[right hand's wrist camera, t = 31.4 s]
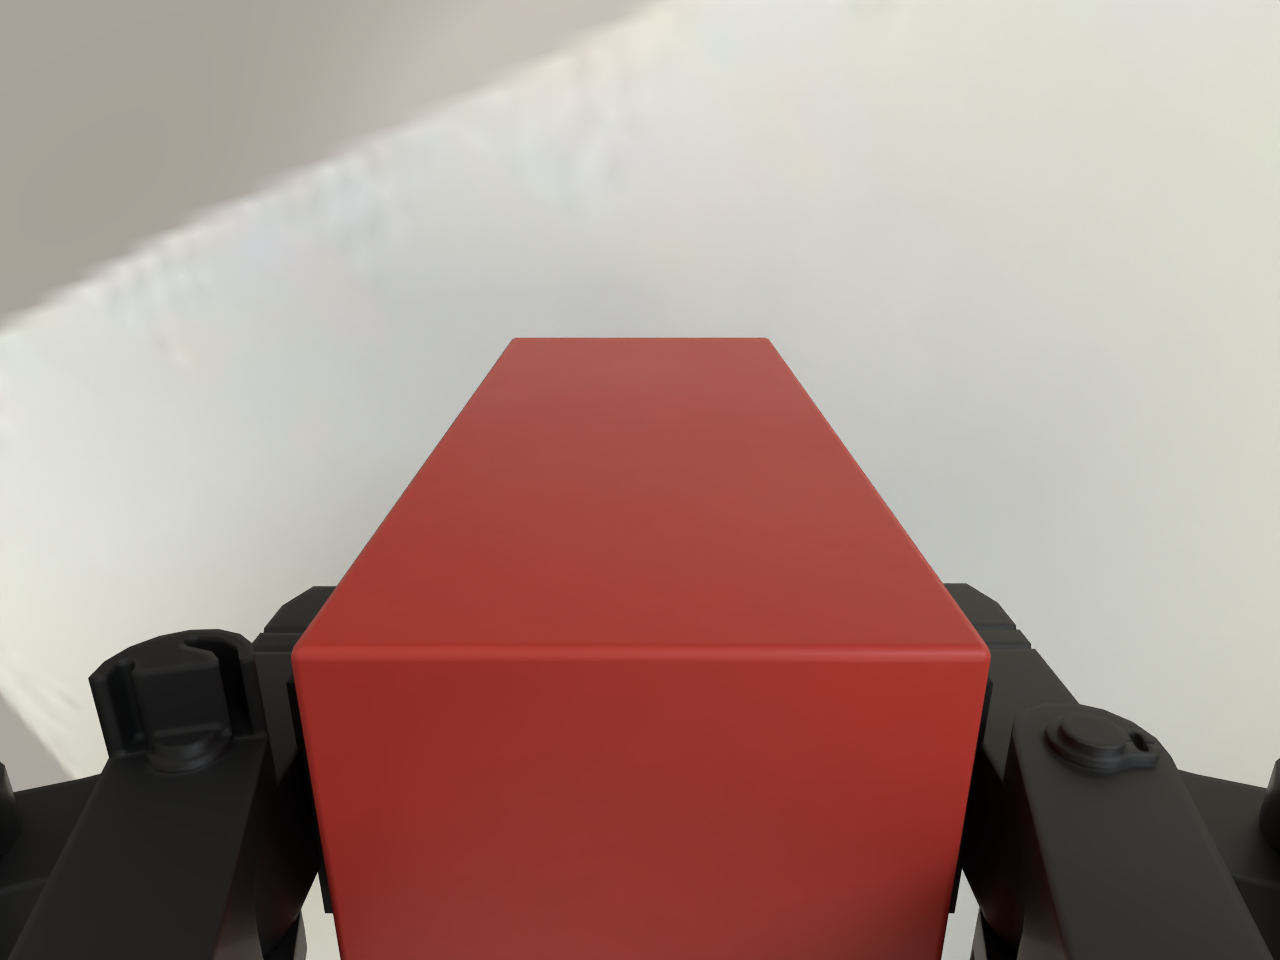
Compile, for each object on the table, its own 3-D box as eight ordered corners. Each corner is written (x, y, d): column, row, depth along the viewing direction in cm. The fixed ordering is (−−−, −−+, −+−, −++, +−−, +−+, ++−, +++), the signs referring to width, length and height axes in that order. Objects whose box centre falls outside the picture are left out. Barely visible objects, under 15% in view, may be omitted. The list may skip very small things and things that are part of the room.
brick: (755, 593, 18) (910, 1173, 8) (525, 593, 18) (371, 1171, 8) (769, 336, 16) (997, 650, 6) (511, 337, 16) (282, 650, 6)
